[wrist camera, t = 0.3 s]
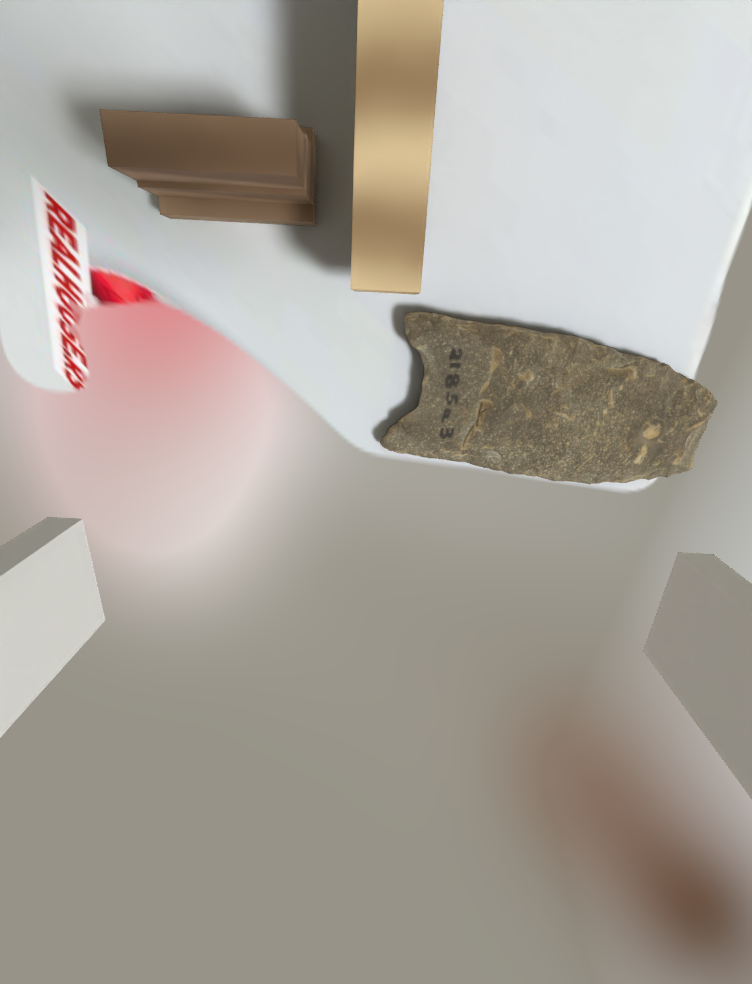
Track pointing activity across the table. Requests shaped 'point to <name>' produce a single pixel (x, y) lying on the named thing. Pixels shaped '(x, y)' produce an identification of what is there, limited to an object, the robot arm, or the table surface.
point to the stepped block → (217, 165)
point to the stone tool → (547, 405)
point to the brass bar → (393, 141)
